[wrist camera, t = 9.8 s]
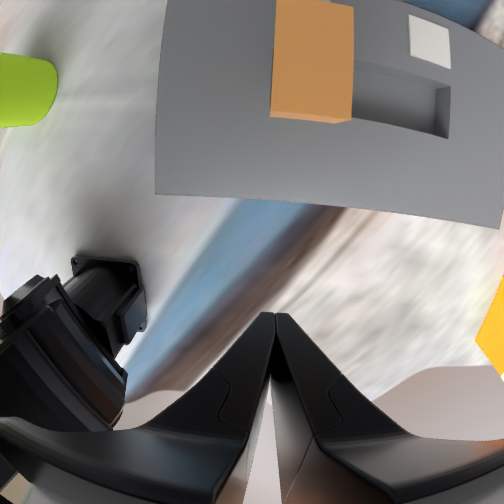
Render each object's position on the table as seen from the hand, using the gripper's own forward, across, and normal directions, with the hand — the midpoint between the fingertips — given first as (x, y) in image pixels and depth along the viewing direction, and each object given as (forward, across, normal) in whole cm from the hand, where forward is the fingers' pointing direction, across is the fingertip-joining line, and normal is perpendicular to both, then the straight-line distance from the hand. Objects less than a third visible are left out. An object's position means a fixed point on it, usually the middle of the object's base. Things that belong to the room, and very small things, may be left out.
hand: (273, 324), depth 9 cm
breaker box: (+12, -5, -9) cm, 16 cm away
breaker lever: (+11, -1, -9) cm, 14 cm away
